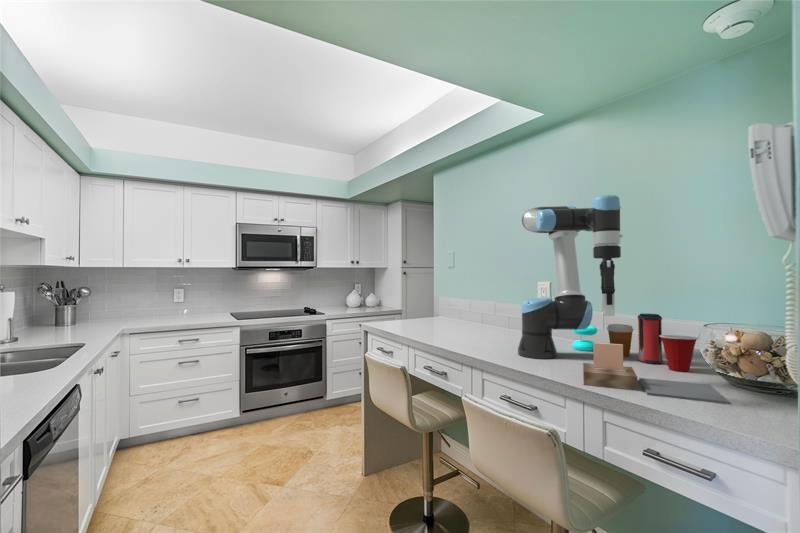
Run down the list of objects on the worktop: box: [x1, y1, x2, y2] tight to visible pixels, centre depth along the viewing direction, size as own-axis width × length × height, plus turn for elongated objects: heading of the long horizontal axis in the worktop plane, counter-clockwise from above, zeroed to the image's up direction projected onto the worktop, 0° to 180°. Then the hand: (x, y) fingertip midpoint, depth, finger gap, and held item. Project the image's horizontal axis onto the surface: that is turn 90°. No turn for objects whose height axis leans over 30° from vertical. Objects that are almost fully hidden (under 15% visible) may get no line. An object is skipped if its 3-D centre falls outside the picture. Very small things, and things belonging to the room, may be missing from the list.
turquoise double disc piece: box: [572, 325, 598, 352], centre depth 167 cm, size 10×10×10 cm
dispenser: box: [582, 362, 638, 391], centre depth 118 cm, size 14×12×4 cm
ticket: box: [593, 342, 624, 370], centre depth 118 cm, size 8×1×12 cm, turn 65°
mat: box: [638, 377, 730, 405], centre depth 109 cm, size 18×16×1 cm
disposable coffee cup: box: [606, 323, 635, 358], centre depth 155 cm, size 10×10×12 cm
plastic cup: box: [659, 334, 698, 373], centre depth 132 cm, size 11×11×12 cm
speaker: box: [637, 313, 663, 365], centre depth 143 cm, size 8×8×18 cm
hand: (607, 313), depth 118 cm, fingers open, 13 cm apart
